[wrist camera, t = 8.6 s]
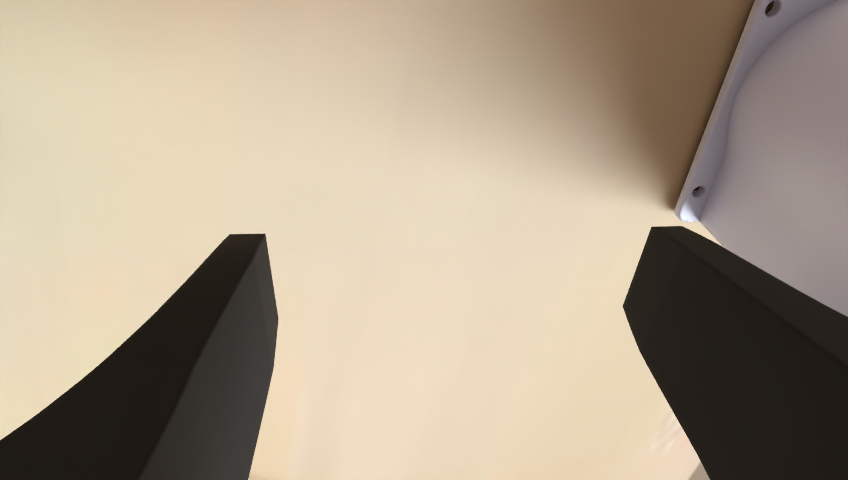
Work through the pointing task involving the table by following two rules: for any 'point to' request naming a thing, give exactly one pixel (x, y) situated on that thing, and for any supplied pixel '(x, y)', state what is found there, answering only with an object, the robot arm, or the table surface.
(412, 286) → the table surface
